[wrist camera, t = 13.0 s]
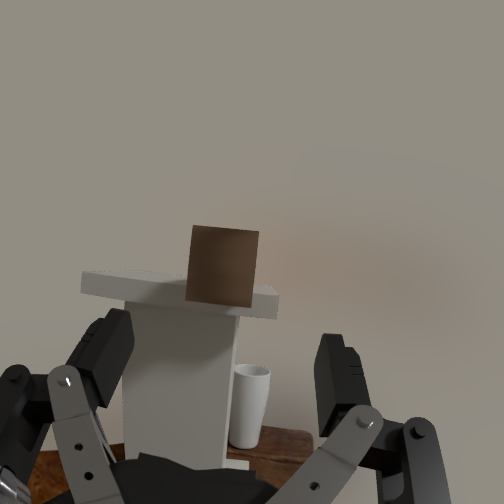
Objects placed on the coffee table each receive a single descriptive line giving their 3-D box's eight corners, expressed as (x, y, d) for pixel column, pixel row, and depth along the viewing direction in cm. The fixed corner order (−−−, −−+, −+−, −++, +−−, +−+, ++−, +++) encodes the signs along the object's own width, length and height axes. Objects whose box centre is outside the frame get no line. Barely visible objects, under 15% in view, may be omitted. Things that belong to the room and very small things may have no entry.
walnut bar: (185, 300, 17) (192, 225, 17) (225, 281, 42) (229, 250, 42) (251, 308, 17) (259, 231, 17) (253, 284, 42) (256, 253, 42)
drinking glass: (229, 453, 47) (237, 376, 48) (220, 435, 54) (227, 363, 54) (267, 450, 49) (277, 375, 50) (254, 433, 56) (263, 363, 56)
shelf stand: (97, 512, 26) (82, 271, 27) (137, 452, 43) (141, 270, 44) (245, 543, 25) (279, 295, 27) (247, 470, 42) (269, 285, 44)
